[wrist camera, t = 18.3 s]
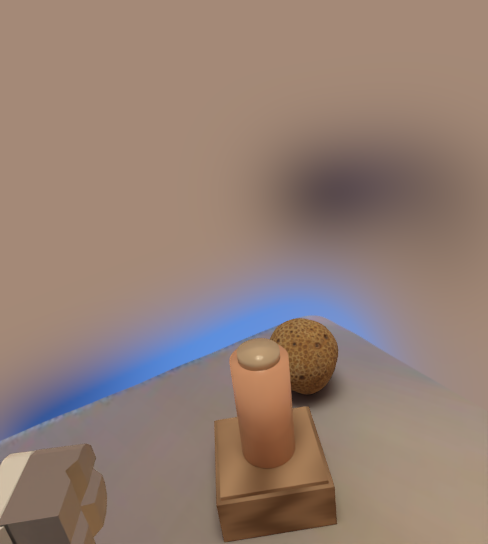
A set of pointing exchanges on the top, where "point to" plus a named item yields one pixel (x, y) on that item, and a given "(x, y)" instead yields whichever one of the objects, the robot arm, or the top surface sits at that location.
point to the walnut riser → (272, 484)
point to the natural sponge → (307, 353)
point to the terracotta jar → (263, 402)
